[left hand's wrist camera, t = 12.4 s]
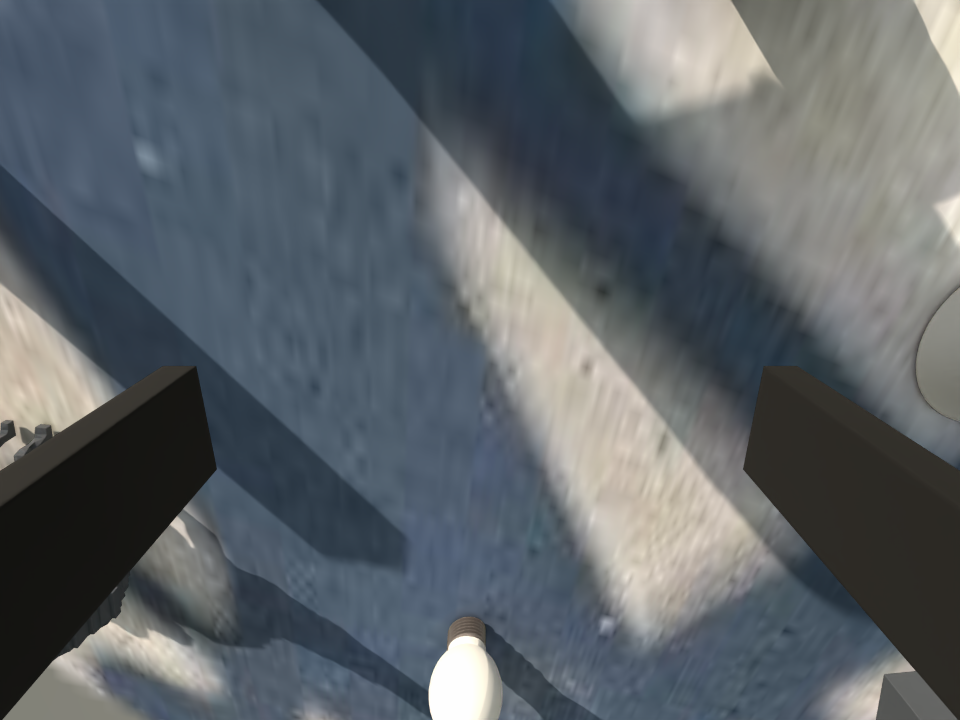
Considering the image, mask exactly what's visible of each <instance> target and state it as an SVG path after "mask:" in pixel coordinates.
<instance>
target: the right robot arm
mask: <svg viewBox="0 0 960 720" xmlns="http://www.w3.org/2000/svg"><path fill="white" fill-rule="evenodd" d="M916 377H917V382H918V386H919V389H920V391H921V393H922V395H923V397H924V398H925V400H926V401H927V402H928V404H929V405H930V406H931V407H932V408H933V409H935V410H936V411H937V412H939V413H940V414H942V415H944V416H946V417H948V418H950V419H953V420H956V421H960V287H959V288H958V289H957V290H956V291H955V292H954V293H953V294H952V295H951V296H950V297H949V298H948V299H947V300H946V301H945V302H944V303H943V304H942V305H941V307H940V308H939V309H938V310H937V312H936V313H935V315H934V316H933V317H932V319H931V321H930V322H929V324H928V326H927V328H926V330H925V332H924V334H923V336H922V339H921V341H920V345H919V348H918V352H917V358H916Z"/></svg>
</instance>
